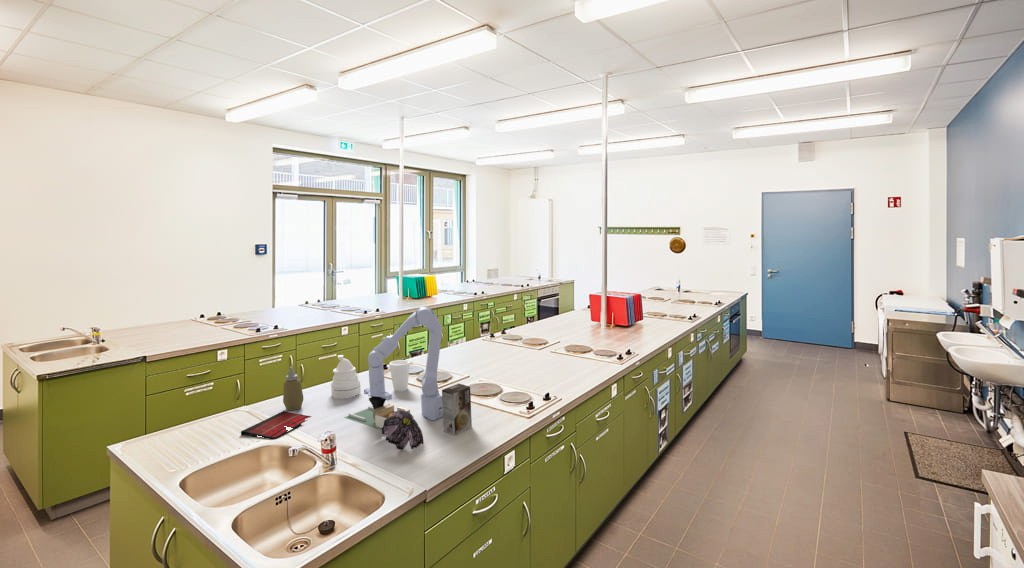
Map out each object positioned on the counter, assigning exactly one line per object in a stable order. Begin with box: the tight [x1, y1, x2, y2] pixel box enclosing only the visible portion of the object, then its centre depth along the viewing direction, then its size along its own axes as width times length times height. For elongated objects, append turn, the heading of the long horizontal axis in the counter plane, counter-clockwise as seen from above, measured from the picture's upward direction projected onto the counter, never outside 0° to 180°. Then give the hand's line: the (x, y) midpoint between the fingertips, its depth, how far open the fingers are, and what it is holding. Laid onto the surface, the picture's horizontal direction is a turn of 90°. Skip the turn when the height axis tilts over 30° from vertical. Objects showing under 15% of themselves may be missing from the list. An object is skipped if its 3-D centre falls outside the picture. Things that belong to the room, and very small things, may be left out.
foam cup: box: [388, 359, 411, 392], centre depth 227 cm, size 10×9×13 cm
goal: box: [375, 406, 411, 428], centre depth 184 cm, size 6×12×4 cm, turn 145°
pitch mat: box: [343, 405, 382, 431], centre depth 189 cm, size 25×14×2 cm, turn 55°
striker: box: [373, 403, 395, 423], centre depth 187 cm, size 3×8×5 cm, turn 145°
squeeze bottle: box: [282, 366, 305, 411], centre depth 204 cm, size 8×8×18 cm
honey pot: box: [330, 354, 362, 399], centre depth 222 cm, size 13×13×18 cm
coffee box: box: [441, 383, 473, 436], centre depth 178 cm, size 9×6×16 cm
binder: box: [240, 410, 313, 440], centre depth 185 cm, size 16×2×21 cm
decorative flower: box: [381, 410, 424, 451], centre depth 167 cm, size 14×12×15 cm
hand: (378, 414), depth 189 cm, fingers closed
